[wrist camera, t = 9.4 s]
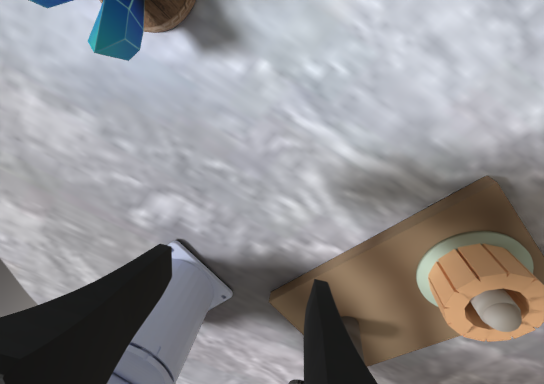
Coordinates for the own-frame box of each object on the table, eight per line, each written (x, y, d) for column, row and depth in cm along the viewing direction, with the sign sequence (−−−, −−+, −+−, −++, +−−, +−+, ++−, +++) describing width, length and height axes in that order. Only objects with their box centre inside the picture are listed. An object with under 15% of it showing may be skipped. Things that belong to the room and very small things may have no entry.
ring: (493, 313, 21) (518, 349, 19) (416, 296, 22) (430, 329, 19) (538, 254, 19) (575, 287, 16) (449, 236, 19) (470, 264, 16)
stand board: (343, 362, 29) (349, 430, 24) (270, 292, 26) (258, 351, 21) (557, 287, 21) (638, 362, 16) (486, 175, 18) (556, 221, 13)
